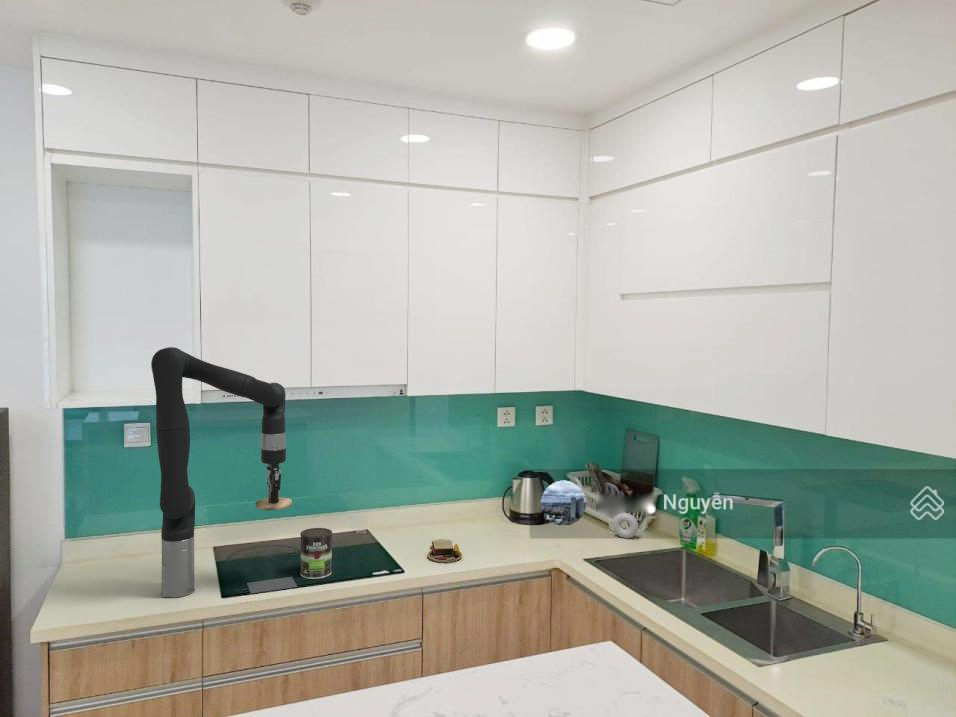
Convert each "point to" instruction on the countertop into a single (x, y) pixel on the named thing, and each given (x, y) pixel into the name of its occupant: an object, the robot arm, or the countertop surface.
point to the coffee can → (316, 553)
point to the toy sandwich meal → (444, 551)
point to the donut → (625, 518)
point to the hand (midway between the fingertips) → (273, 501)
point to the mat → (271, 585)
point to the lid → (267, 505)
